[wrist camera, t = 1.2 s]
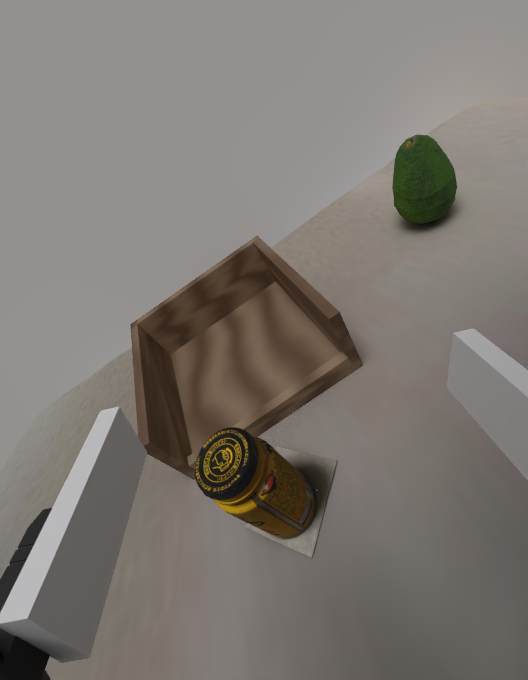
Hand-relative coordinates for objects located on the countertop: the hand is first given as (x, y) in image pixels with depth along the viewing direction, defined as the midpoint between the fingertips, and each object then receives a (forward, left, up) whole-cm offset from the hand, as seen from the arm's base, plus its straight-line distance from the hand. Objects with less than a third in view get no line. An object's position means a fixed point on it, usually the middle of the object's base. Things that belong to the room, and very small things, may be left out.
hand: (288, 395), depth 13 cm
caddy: (+5, -26, -21) cm, 34 cm away
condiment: (+7, -6, -21) cm, 23 cm away
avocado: (-29, -29, -21) cm, 47 cm away
